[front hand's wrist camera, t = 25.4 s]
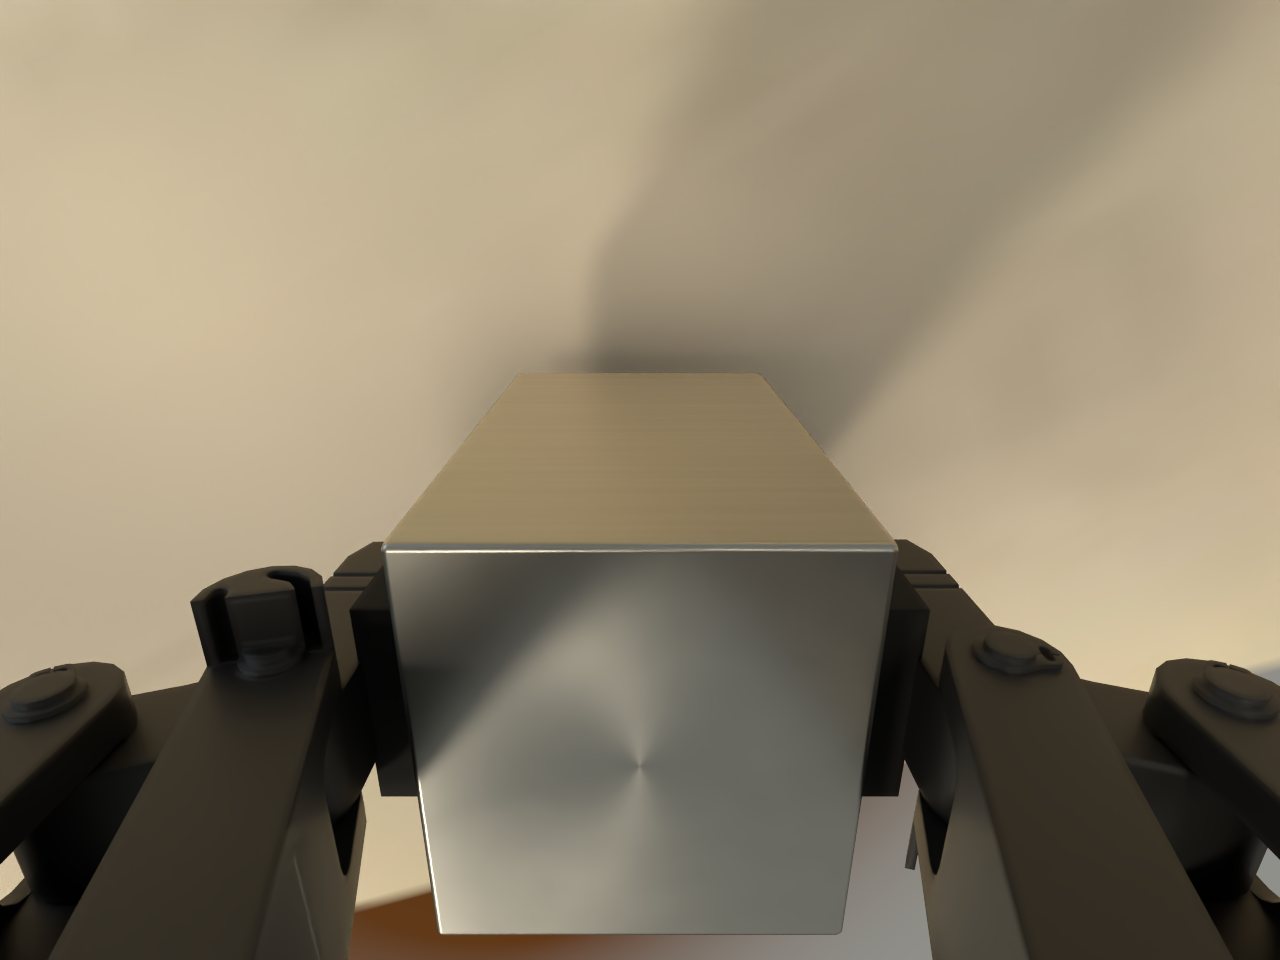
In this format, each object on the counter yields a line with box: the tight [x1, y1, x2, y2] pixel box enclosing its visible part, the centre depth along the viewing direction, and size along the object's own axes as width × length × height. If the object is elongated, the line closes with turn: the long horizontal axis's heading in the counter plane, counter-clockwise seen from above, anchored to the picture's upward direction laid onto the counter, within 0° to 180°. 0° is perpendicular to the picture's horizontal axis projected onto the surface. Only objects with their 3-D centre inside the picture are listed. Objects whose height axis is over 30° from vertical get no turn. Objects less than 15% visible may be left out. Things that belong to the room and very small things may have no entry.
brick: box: [381, 373, 898, 935], centre depth 11 cm, size 5×5×8 cm
